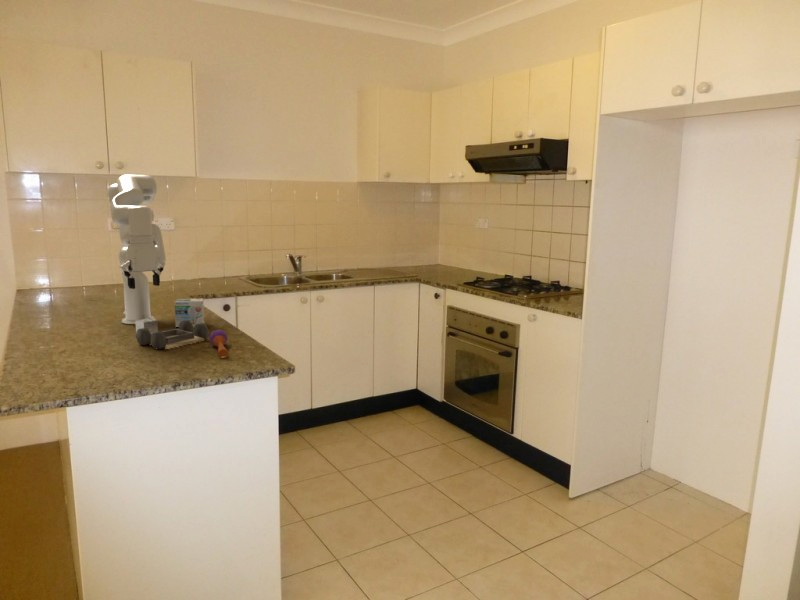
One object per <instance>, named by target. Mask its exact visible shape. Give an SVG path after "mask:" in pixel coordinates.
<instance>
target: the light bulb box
mask: <svg viewBox="0 0 800 600" xmlns="http://www.w3.org/2000/svg"><path fill="white" fill-rule="evenodd" d="M204 306H205V305H204V298H177V299H176V300H175V301H174V318H175V319H174V320H175V321H174V322H175V328H176V327H179V324H180V322H181V321H184V320H189V321H190V322H191V323H192V325H193V326H195V325H196V324H200V323H204V324H205V307H204Z"/></svg>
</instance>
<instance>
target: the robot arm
mask: <svg viewBox="0 0 800 600" xmlns="http://www.w3.org/2000/svg"><path fill="white" fill-rule="evenodd" d="M157 187H158V186H157V182H156V180H155V178H154V177H153V176H152V175H149V174H129V173H128V174H122V175H120V176H119V177H118V178H117V181H116V183H113V184H111V185H109V186H108V188H107V195H108V201H109V205H110V206H109V208H110V209H109V211H110V217H111V220H112V223H114V224H115V225H116V226H117V227H118V230H119V231H118V232H119V239H120V241H121V243H122V245H123V247H121V248H120V249H119V251H118V259H119V264H120V265H119V270H120V271H121V275H122V284H123V285H122V286H123V298H124V300H123V301H124V311H123V312H122V314H123V315H124V316H125V317H123V318H121V323H123V324H125V325H126V324H127V325H136V324H135V321H136V320H142V319H147V318H150V319H155V320H156V318H155V316H153V315H151V301H150V300H151V299H150V287H149V286H150V285H149V278H148V277H147V275H146V274H145V273H144V272H152V273H153V274H152V285H153V286H155V287H159V286H160V283H161V279H160V278H161V277H160V276H161V275H162V273H163V271H164V268H165V266H166V251H165V246H164V240H163V235H162V231H161V228H160V226H159V225H158V224H155V223H153V222H154V219H155V214H154V211H153V210H152V207H150V206H148V205H144V204H152V203H153V201H154V199H155V197H156V194H157V190H158V189H157ZM142 204H143V205H142Z"/></svg>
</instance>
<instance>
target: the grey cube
mask: <svg viewBox="0 0 800 600" xmlns="http://www.w3.org/2000/svg"><path fill="white" fill-rule="evenodd" d="M134 325H135V334H136V333H137V330H138V329H141V328H147V329H148V330H149V331H150V334H153V333H154V332H159V325H158V319H156V318H155V319H150V318H147V319H142V320H136V321H135V324H134Z"/></svg>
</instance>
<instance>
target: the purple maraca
mask: <svg viewBox="0 0 800 600" xmlns="http://www.w3.org/2000/svg"><path fill="white" fill-rule="evenodd" d="M209 342H210V344H211V345H212V346H213V345H214V346H213V347H216V346H217V347H216V348H218V349H217V356H218V358H219V357H222V356H228V357H229V351H228V349H226V347H225V345H226V343H227V342H228V335H227V333H226V332H225V331H224V330H222V329H215V330H212V332H211V333H210V334H209Z"/></svg>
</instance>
